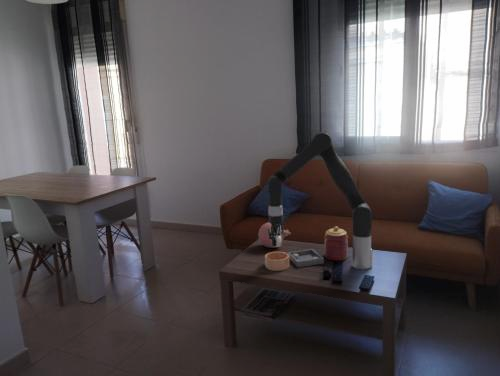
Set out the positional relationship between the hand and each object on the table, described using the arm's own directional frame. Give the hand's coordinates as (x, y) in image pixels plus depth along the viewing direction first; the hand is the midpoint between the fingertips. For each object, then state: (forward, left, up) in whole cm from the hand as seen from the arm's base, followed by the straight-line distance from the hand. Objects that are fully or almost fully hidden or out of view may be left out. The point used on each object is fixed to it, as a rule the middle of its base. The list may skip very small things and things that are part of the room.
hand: (276, 244), depth 218 cm
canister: (-35, -1, -12) cm, 37 cm away
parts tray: (-17, -2, -12) cm, 21 cm away
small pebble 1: (-13, -6, -12) cm, 18 cm away
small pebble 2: (-21, +2, -12) cm, 24 cm away
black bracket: (-18, +21, -13) cm, 31 cm away
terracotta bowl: (0, 0, -12) cm, 12 cm away
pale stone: (0, 0, -1) cm, 1 cm away
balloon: (-8, -28, -12) cm, 32 cm away
